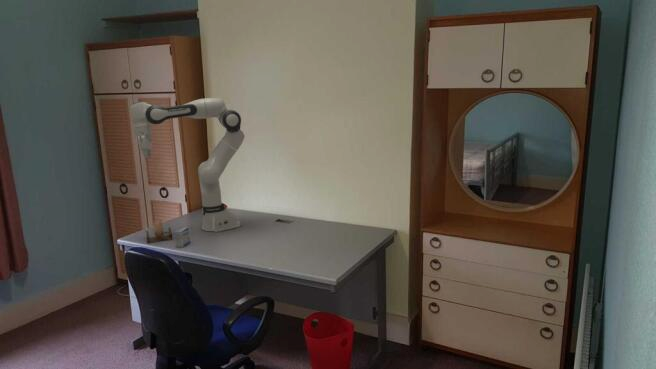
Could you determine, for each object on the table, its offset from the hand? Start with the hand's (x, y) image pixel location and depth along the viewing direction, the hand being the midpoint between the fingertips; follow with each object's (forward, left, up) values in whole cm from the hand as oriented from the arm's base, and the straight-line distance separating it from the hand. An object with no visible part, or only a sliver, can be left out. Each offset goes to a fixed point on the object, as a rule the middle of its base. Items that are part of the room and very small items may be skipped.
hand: (147, 157), depth 254 cm
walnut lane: (-1, +4, -45) cm, 45 cm away
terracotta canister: (-1, +7, -45) cm, 46 cm away
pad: (-2, -8, -45) cm, 46 cm away
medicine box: (-12, +23, -46) cm, 52 cm away
